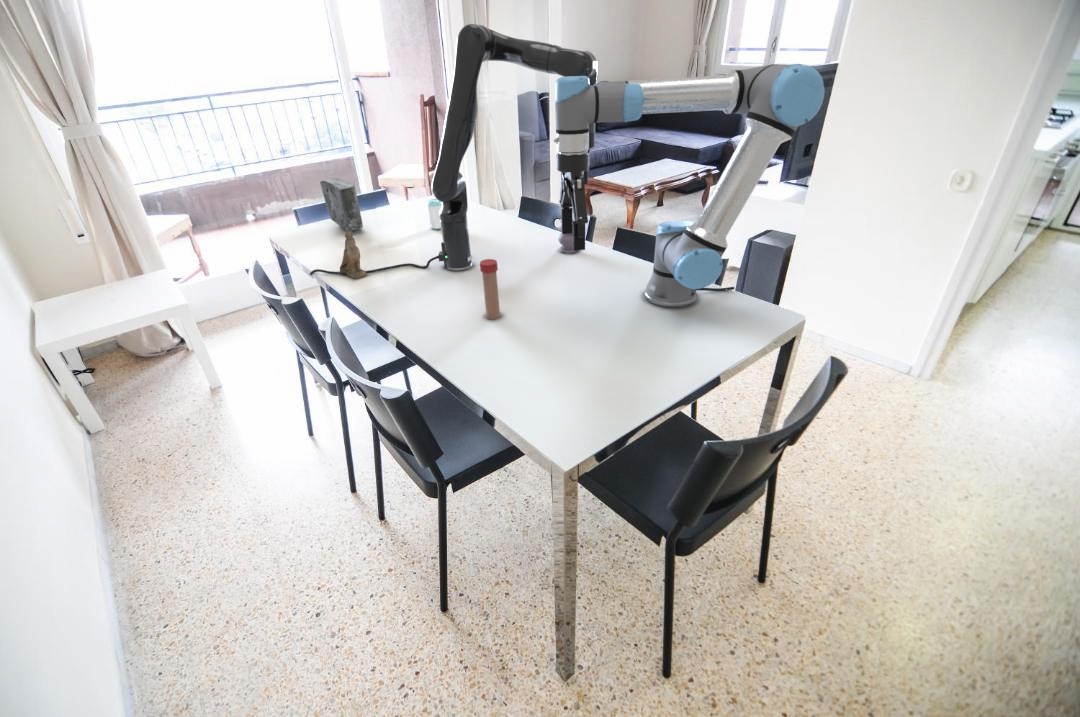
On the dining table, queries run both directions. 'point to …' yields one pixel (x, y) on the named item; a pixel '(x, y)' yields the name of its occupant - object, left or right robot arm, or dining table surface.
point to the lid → (488, 266)
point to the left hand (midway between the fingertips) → (581, 186)
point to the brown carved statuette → (351, 258)
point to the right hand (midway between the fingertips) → (573, 241)
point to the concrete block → (342, 203)
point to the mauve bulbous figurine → (567, 241)
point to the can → (434, 213)
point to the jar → (491, 295)
